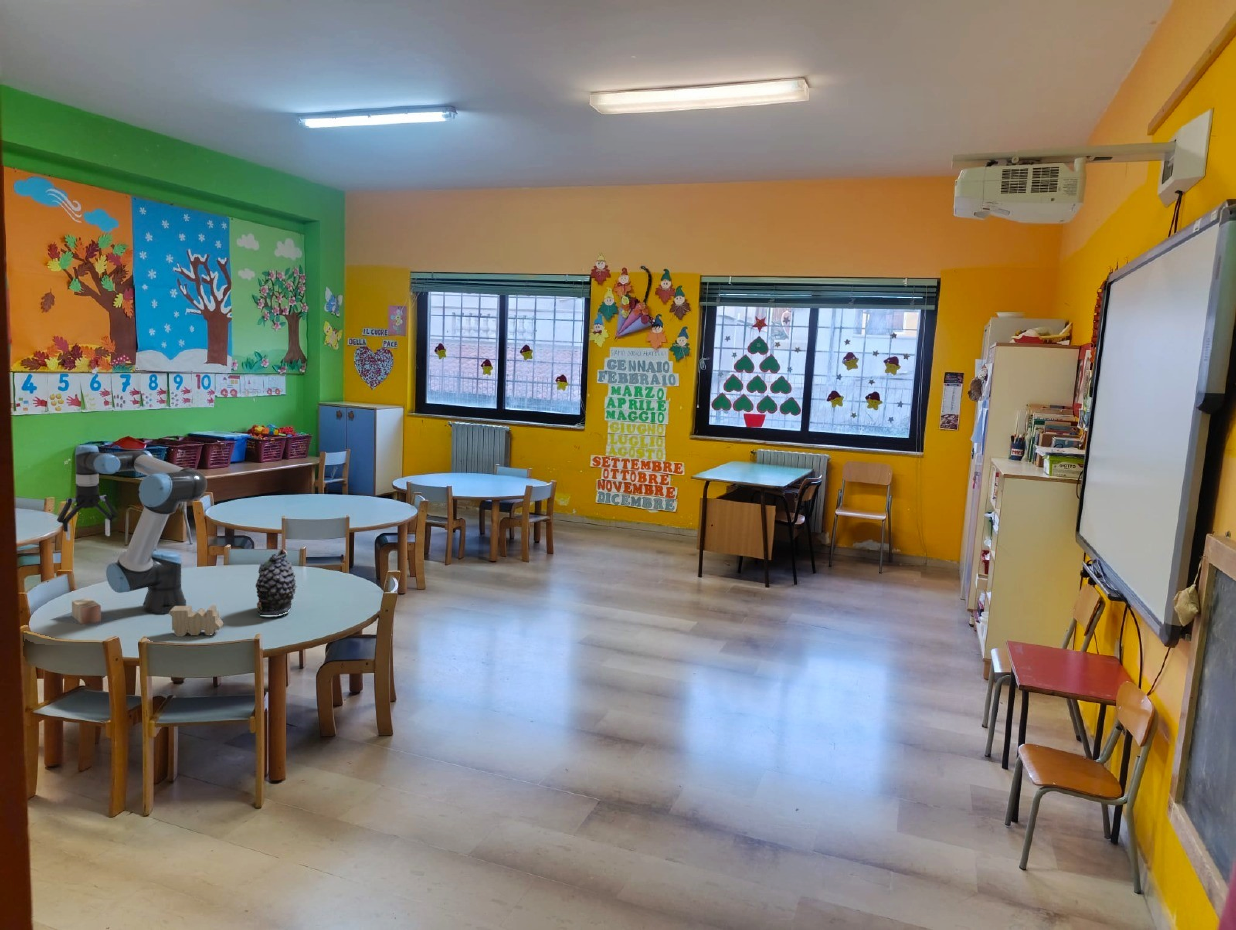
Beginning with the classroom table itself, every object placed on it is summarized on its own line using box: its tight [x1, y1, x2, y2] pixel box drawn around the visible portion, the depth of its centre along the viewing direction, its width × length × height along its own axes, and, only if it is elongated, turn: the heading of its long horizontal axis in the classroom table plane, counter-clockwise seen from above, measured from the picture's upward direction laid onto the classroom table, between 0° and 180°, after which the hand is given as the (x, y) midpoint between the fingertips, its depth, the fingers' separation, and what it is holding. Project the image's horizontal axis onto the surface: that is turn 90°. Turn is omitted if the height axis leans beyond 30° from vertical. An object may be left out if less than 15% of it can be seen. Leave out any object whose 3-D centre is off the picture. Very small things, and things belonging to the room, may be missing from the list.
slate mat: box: [50, 611, 127, 627], centre depth 306 cm, size 20×14×1 cm
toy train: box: [168, 604, 224, 637], centre depth 297 cm, size 6×17×10 cm, turn 103°
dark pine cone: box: [255, 548, 297, 615], centre depth 325 cm, size 21×15×25 cm
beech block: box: [71, 597, 102, 625], centre depth 304 cm, size 6×6×12 cm
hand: (88, 537), depth 319 cm, fingers open, 13 cm apart
